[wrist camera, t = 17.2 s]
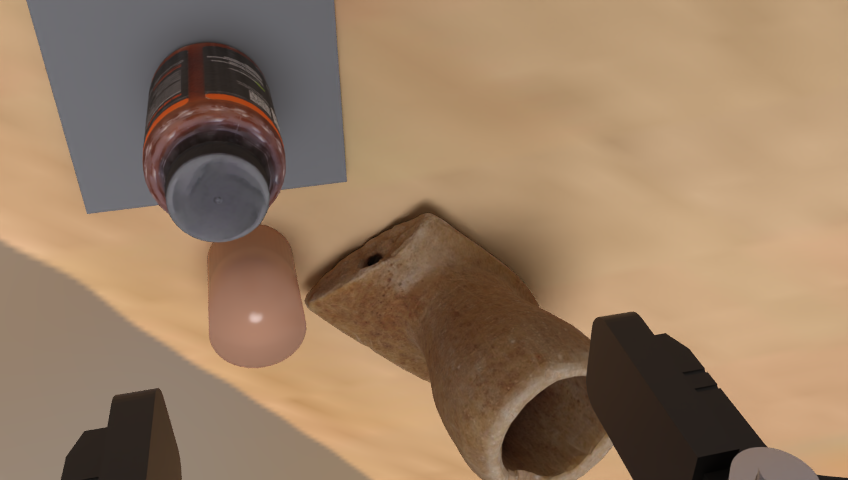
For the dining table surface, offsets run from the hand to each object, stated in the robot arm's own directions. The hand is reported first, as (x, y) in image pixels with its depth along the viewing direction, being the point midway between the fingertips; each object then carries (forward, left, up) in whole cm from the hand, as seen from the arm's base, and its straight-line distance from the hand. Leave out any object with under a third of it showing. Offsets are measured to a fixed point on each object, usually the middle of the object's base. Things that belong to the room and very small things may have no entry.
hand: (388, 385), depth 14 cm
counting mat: (+4, +5, -29) cm, 30 cm away
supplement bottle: (+3, +5, -28) cm, 29 cm away
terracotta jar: (+3, +16, -29) cm, 33 cm away
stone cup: (-9, +20, -29) cm, 36 cm away
